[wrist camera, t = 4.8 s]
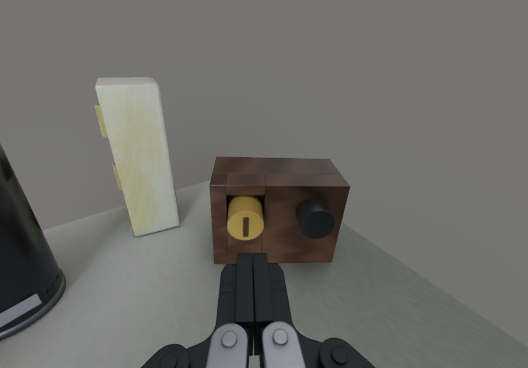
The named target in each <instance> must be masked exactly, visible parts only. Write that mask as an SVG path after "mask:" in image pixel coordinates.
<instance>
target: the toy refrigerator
mask: <svg viewBox="0 0 528 368" xmlns="http://www.w3.org/2000/svg"><path fill="white" fill-rule="evenodd" d="M95 87H96V92H97V96H98V100H99V104H97V105H95V110H96V114H97V117H98V121H99V124H100V128H101V132H102V136H103V137H108V138H109V142H110V145H111V149H112V153H113V156H114V160H115V163H114V164H112V167H113V170H114V174H115V177H116V181H117V184H118V188H119V190H120V191H121V190H123V194H124V197H125V201H126V205H127V209H128V213H129V216H130V220H131V224H132V228H133V232H134V235H135V236H141V235H145V234H150V233H153V232H157V231H161V230H165V229H169V228H173V227H176V226H179V225H180V222H179V215H178V208H177V201H176V195H175V188H174V181H173V174H172V168H171V161H170V154H169V148H168V142H167V134H166V127H165V121H164V114H163V108H162V101H161V94H160V88H159V85H158V83H157V82H155V81H154V80H153V79H152V78H150V77H136V78H135V77H134V78H132V77H129V78H98V80H97V83H96V86H95Z"/></svg>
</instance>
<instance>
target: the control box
mask: <svg viewBox="0 0 528 368" xmlns="http://www.w3.org/2000/svg"><path fill="white" fill-rule="evenodd" d="M349 189H350V186H349V184H348V183H347V182H346V180H345V179H344V178H343V176H342V175H341V174H340V172H339V171H338V170H337V168H336V167H335V166H334V165H333V163H332V162H331V160H330V159H298V158H296V159H295V158H251V157H249V158H248V157H216V161H215V165H214V169H213V173H212V178H211V182H210V200H211V217H212V234H213V250H214V263H215V264H221V263H237V253H252V255H253V253H267V256H268V263H290V262H332V258H333V253H334V249H335V245H336V241H337V237H338V233H339V229H340V225H341V221H342V217H343V213H344V209H345V205H346V201H347V197H348V193H349ZM238 195H253V196H255V197H257V198H258V199H259V200H260V202H261V204H262V211H263V219H264V229H263V231H262V233H261V234H260V235H259V236H257V237H256V238H254V239H251V240H240V239H237V238H235V237H233V236H232V235H231V234H230V233H229V231H228V229H227V220H228V209H229V204H230V202H231V200H232V199H233V198H235V197H236V196H238Z"/></svg>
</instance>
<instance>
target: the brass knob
mask: <svg viewBox="0 0 528 368" xmlns="http://www.w3.org/2000/svg"><path fill="white" fill-rule="evenodd" d="M227 229H228V231H229V233H230V234H231V235H232V236H233V237H235V238H237V239H240V240H251V239H254V238H256V237H257V236H259V235H260V234H261V233H262V231H263V229H264V219H263V211H262V204H261V202H260V200H259V199H258V198H257V197H255V196H253V195H238V196H236V197H235V198H233V199H232V200H231V202H230V204H229V209H228V220H227Z"/></svg>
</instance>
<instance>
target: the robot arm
mask: <svg viewBox="0 0 528 368" xmlns="http://www.w3.org/2000/svg"><path fill="white" fill-rule="evenodd" d="M64 288H65V277H64V274H63V272H62V270H61V269H60V268H59V267H58V264H57V262H56V260H55V258H54V256H53V253H52V251H51V249H50V247H49V245H48V243H47V241H46V238H45V236H44V234H43V232H42V230H41V228H40V226H39V224H38V222H37V220H36V217H35V215H34V213H33V211H32V209H31V207H30V205H29V203H28V200H27V198H26V196H25V194H24V192H23V190H22V188H21V186H20V184H19V182H18V180H17V177H16V175H15V173H14V171H13V169H12V167H11V165H10V163H9V161H8V159H7V156H6V154H5V152H4V150H3V148H2V146H1V144H0V339H3V338H5V337H8V336H10V335H12V334H14V333H16V332H18V331H20V330H22V329H24V328H25V327H27V326H29V325H30V324H32V323H33V322H35V321H36V320H37V319H39V318H40V317H41V316H43V315H44V314H45V313H46V312H47V311H48V310H49V309H50V308H51V307H52V306H53V305H54V304H55V303H56V302H57V300H58V299H59V298H60V296H61V294H62V293H63V290H64ZM253 335H254V355H259V358H260V368H375V367H374V366H373V365H372V364H371V363H370V362H369V361H368V360H366V359H365V358H364V357H363V356H362V355H361V354H360V353H359V352H357V351H356V350H355V349H354V348H353V347H352V346H351V345H349V344H348V343H347V342H346V341H344V340H342V339H339V338H329V339H327V340H325V341H324V342H323V343H322V342H319V341H315V340H312V339H309V338H306V337H305V336H303V335H302V334H300V333H299V332H298V331H297V330H296V328H295V327H294V325H293V323H292V318H291V313H290V307H289V301H288V296H287V291H286V284H285V278H284V273H283V270H282V269H281V267H280V266H279V264H278V263H268V256H267V253H253V255H252V253H237V264H226V266H225V267H224V269H223V271H222V272H221V279H220V289H219V299H218V309H217V319H216V326H215V329H214V331H213V332H212V334H211V335H210V336H209V337H208V338H207V339H206V340H205V341H203V342H202V343H199V344H197V345H194V346H192V347H189V348H187V349H185V347H183V346H181V345H179V344H170V345H167V346H165V347H163V348H161V349H160V350H158V351H157V352H156V353H155V354H154V355H153V356H152V357H151V358H150V359H149V360H148V361H147V362H146V363H145V364H144V365H143V366H142V367H141V368H249V356H253Z"/></svg>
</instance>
